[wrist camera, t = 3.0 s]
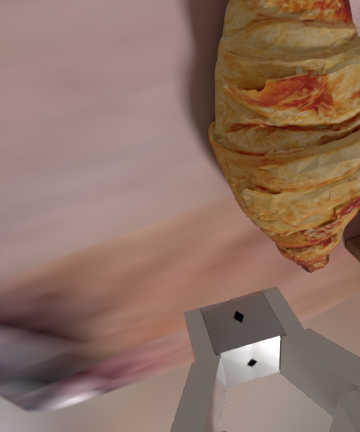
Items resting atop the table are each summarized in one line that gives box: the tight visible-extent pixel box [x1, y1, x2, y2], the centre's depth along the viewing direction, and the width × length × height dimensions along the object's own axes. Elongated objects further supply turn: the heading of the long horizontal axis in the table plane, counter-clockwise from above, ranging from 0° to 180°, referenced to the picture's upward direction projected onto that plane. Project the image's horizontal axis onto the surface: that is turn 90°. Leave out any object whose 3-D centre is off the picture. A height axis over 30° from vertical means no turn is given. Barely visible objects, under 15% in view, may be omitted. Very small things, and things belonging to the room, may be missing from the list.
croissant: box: [208, 0, 360, 273], centre depth 18 cm, size 21×10×8 cm, turn 18°
